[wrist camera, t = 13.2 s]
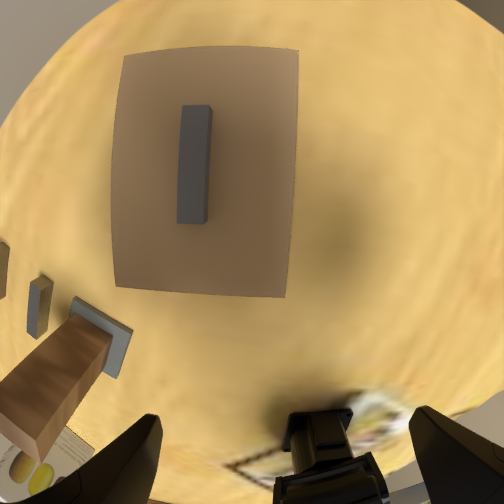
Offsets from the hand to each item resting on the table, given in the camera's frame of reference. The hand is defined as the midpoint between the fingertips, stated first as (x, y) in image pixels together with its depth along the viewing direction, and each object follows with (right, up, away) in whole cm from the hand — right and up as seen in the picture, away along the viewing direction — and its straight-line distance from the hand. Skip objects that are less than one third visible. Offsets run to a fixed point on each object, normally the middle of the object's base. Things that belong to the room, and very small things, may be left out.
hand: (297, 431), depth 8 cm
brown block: (-16, -2, +13) cm, 21 cm away
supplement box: (-29, -21, +19) cm, 40 cm away
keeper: (-24, +2, +13) cm, 27 cm away
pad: (-15, -2, +14) cm, 21 cm away
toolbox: (-4, +11, +11) cm, 16 cm away
